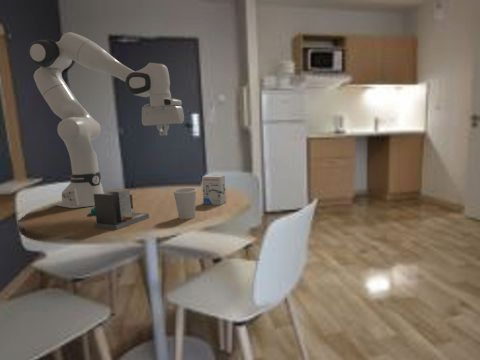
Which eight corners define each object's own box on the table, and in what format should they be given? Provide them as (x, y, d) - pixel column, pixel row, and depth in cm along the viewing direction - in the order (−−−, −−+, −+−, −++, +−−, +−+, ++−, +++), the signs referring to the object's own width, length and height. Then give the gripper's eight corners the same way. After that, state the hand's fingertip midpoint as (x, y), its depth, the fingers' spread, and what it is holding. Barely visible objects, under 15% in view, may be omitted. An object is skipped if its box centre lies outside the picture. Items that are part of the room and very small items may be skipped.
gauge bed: (94, 227, 123) (90, 194, 121) (128, 215, 137) (125, 186, 135) (116, 229, 118) (112, 195, 117) (149, 217, 133) (146, 186, 131)
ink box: (202, 204, 150) (200, 176, 149) (208, 201, 155) (206, 174, 153) (221, 205, 147) (219, 176, 145) (226, 202, 152) (225, 174, 150)
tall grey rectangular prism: (108, 219, 126) (105, 191, 124) (122, 215, 132) (119, 188, 130) (127, 221, 122) (124, 192, 120) (140, 216, 128) (138, 188, 126)
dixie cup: (201, 214, 133) (199, 187, 132) (194, 220, 125) (192, 191, 123) (179, 214, 135) (177, 188, 133) (171, 220, 126) (169, 192, 125)
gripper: (136, 104, 155) (139, 136, 157) (175, 100, 145) (178, 134, 147) (146, 104, 160) (149, 135, 162) (184, 100, 151) (187, 134, 153)
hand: (163, 135), depth 155 cm, fingers closed
